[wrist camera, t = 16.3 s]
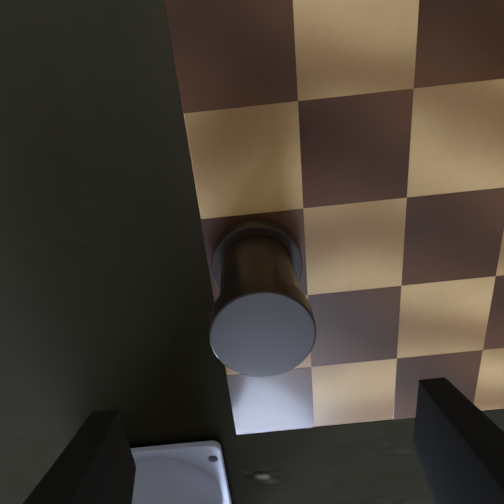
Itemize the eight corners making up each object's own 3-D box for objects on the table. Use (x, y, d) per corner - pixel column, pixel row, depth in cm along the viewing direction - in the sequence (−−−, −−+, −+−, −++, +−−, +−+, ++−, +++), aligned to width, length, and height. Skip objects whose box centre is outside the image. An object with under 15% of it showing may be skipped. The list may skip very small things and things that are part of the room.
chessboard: (540, 391, 24) (551, 404, 23) (236, 420, 24) (236, 434, 23) (663, -75, 14) (689, -81, 14) (164, -18, 15) (160, -21, 14)
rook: (302, 291, 19) (322, 375, 15) (218, 299, 19) (212, 386, 15) (297, 213, 17) (319, 280, 13) (206, 222, 18) (195, 293, 13)
